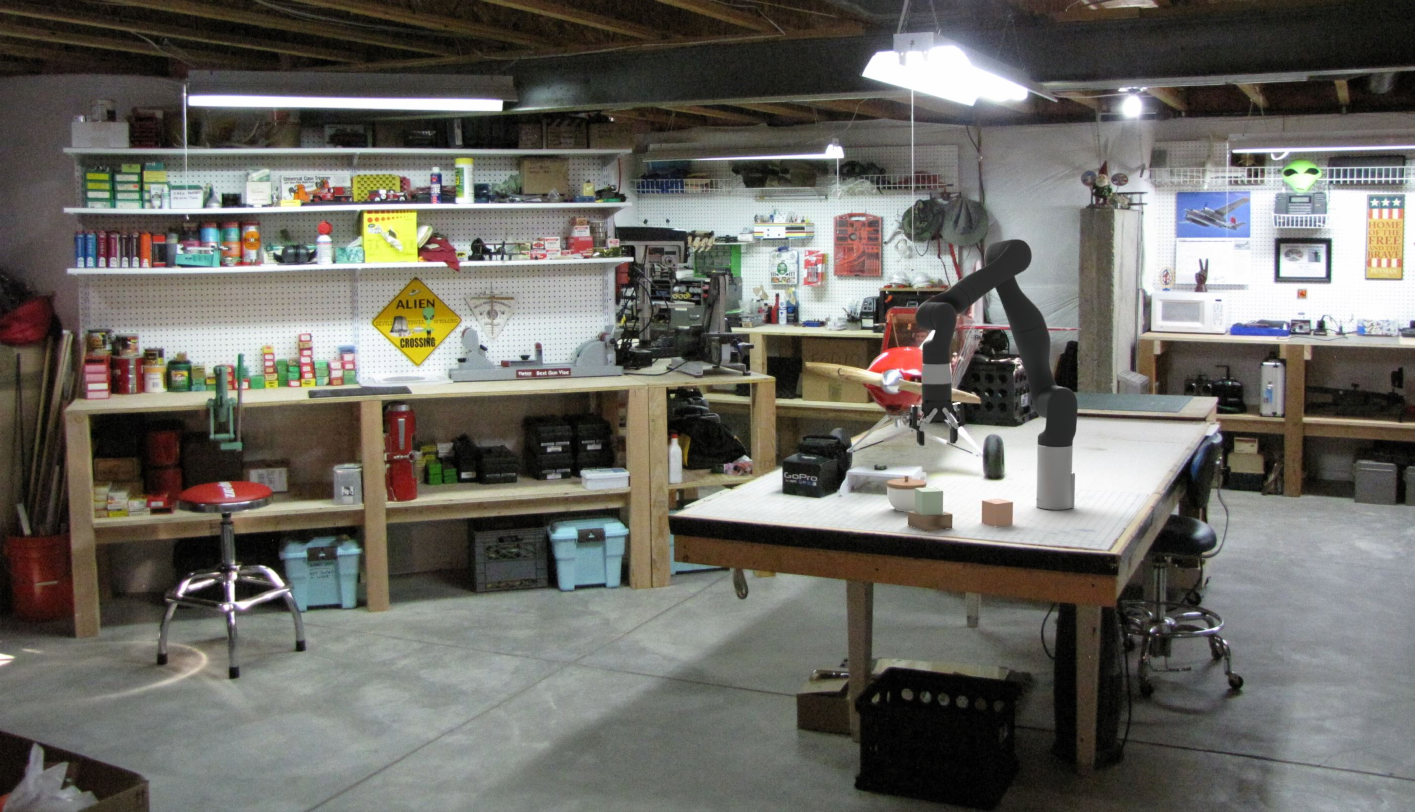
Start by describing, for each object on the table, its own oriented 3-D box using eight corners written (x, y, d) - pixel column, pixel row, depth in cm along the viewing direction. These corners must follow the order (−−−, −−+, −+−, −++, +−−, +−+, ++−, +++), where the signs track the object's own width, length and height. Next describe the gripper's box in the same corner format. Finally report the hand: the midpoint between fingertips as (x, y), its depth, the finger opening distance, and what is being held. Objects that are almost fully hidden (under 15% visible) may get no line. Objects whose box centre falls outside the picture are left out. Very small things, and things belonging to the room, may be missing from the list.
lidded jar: (879, 507, 338) (879, 474, 337) (913, 504, 342) (913, 471, 341) (898, 515, 328) (898, 480, 327) (933, 511, 332) (933, 477, 331)
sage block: (935, 510, 316) (935, 487, 315) (942, 514, 311) (943, 491, 310) (914, 511, 315) (915, 488, 314) (922, 515, 310) (922, 491, 309)
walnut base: (933, 523, 318) (933, 508, 318) (952, 529, 311) (952, 514, 311) (907, 526, 315) (907, 511, 314) (926, 532, 308) (926, 517, 307)
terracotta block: (998, 521, 319) (998, 498, 319) (1012, 524, 315) (1012, 501, 314) (981, 523, 317) (982, 500, 316) (995, 527, 312) (995, 504, 311)
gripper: (956, 378, 316) (957, 440, 318) (904, 381, 313) (905, 444, 315) (969, 381, 309) (969, 444, 311) (915, 384, 306) (916, 448, 308)
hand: (937, 444), depth 313 cm, fingers open, 8 cm apart
